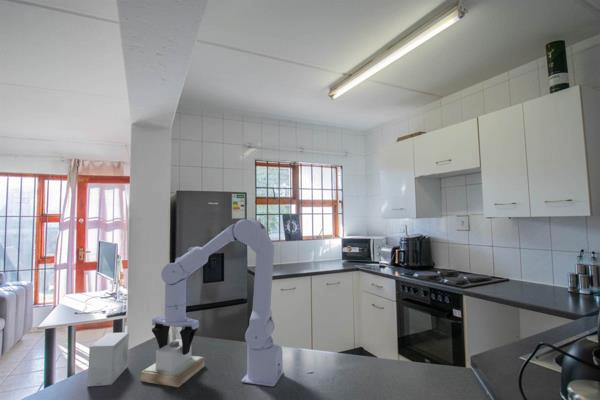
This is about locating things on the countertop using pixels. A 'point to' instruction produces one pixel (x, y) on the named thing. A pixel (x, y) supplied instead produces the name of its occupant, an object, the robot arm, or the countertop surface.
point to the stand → (173, 373)
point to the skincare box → (107, 359)
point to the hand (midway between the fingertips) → (174, 352)
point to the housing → (171, 356)
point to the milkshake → (174, 333)
